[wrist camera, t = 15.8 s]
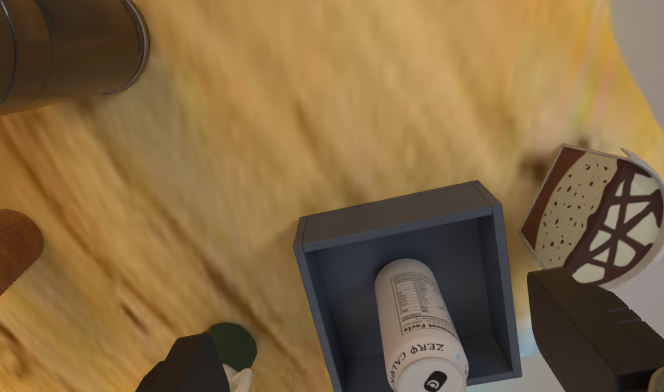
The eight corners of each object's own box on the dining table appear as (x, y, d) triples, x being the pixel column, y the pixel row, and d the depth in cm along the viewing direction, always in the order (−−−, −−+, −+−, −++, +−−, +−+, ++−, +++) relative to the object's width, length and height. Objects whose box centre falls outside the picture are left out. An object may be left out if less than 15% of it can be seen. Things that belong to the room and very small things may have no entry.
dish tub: (338, 361, 50) (338, 408, 44) (299, 217, 45) (292, 246, 38) (498, 332, 49) (522, 377, 42) (478, 179, 43) (501, 203, 37)
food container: (566, 262, 46) (624, 319, 36) (510, 244, 45) (555, 297, 36) (630, 149, 42) (714, 181, 33) (570, 128, 42) (638, 153, 32)
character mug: (243, 294, 48) (208, 381, 35) (288, 338, 49) (270, 436, 37) (172, 349, 50) (117, 448, 38) (217, 389, 52) (179, 497, 40)
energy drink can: (363, 291, 46) (373, 400, 32) (393, 244, 45) (417, 338, 30) (413, 315, 47) (444, 432, 33) (445, 270, 46) (492, 373, 31)
